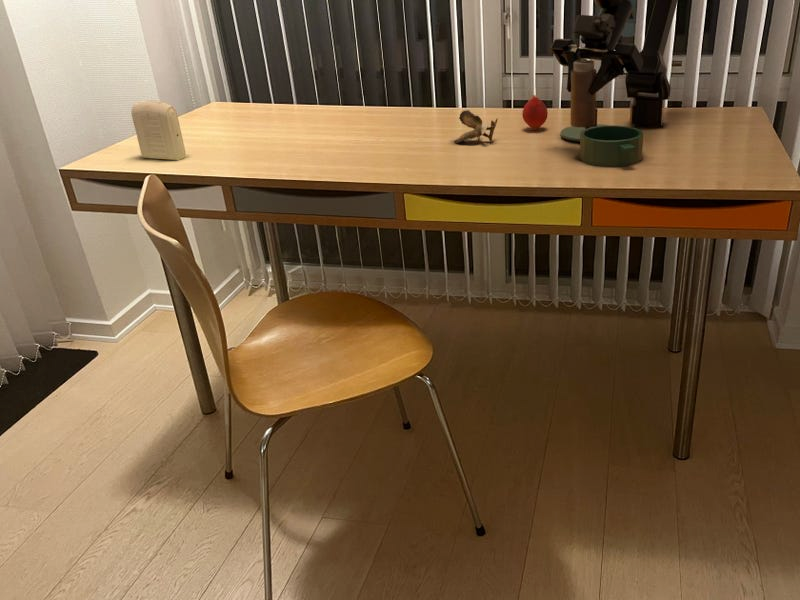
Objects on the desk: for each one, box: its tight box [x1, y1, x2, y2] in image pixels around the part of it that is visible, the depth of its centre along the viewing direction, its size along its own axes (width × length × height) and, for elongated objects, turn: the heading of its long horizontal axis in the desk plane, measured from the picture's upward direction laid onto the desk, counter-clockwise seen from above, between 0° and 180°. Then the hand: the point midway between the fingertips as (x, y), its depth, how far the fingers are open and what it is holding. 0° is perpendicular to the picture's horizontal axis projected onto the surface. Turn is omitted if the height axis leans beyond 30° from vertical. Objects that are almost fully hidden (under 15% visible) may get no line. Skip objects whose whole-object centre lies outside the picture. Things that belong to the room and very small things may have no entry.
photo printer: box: [130, 100, 187, 161], centre depth 177 cm, size 10×4×12 cm, turn 73°
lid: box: [560, 107, 609, 143], centre depth 179 cm, size 14×14×6 cm
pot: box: [579, 124, 644, 167], centre depth 164 cm, size 13×18×5 cm
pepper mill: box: [569, 58, 598, 127], centre depth 160 cm, size 5×5×13 cm
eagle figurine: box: [453, 109, 499, 144], centre depth 179 cm, size 8×7×9 cm
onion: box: [521, 94, 549, 131], centre depth 185 cm, size 6×6×8 cm
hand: (579, 92), depth 159 cm, fingers closed on pepper mill, 5 cm apart
